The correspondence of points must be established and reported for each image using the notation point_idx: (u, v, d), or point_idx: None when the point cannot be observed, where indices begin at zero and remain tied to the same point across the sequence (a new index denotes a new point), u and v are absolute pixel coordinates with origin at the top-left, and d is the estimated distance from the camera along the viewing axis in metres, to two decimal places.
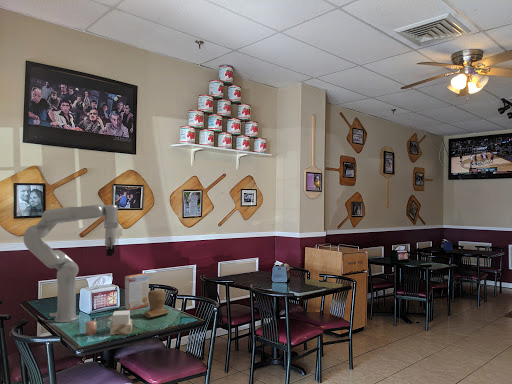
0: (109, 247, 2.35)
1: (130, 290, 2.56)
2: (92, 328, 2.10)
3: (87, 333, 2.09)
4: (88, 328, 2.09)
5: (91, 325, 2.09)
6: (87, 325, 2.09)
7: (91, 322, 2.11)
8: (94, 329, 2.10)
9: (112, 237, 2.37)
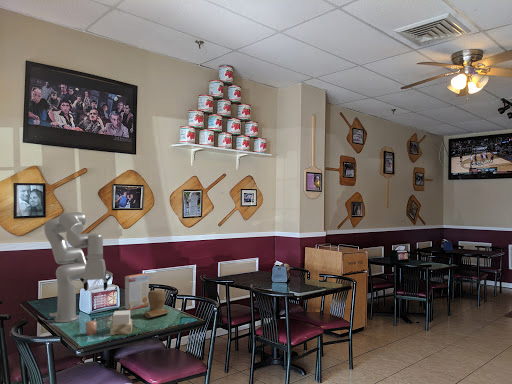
0: None
1: (130, 290, 2.56)
2: (92, 328, 2.10)
3: (87, 333, 2.09)
4: (88, 328, 2.09)
5: (91, 325, 2.09)
6: (87, 325, 2.09)
7: (91, 322, 2.11)
8: (94, 329, 2.10)
9: (105, 269, 2.18)
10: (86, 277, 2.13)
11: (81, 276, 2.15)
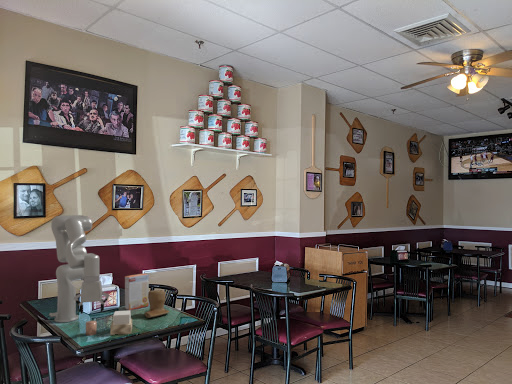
0: (105, 301, 2.13)
1: (130, 290, 2.56)
2: (92, 328, 2.10)
3: (87, 333, 2.09)
4: (88, 328, 2.09)
5: (91, 325, 2.09)
6: (87, 325, 2.09)
7: (91, 322, 2.11)
8: (94, 329, 2.10)
9: None
10: (82, 299, 2.08)
11: (77, 298, 2.09)
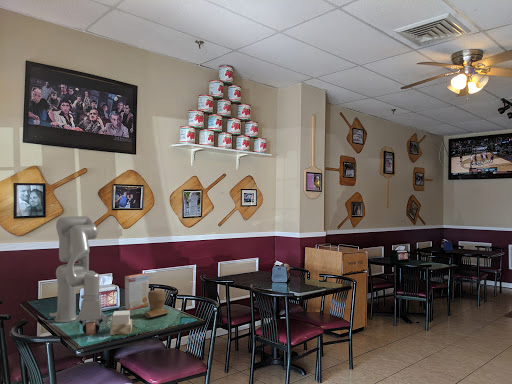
0: None
1: (130, 290, 2.56)
2: (92, 328, 2.10)
3: (87, 333, 2.09)
4: (88, 328, 2.09)
5: (91, 325, 2.09)
6: (87, 325, 2.09)
7: (91, 322, 2.11)
8: (94, 329, 2.10)
9: None
10: (82, 318, 2.08)
11: (79, 319, 2.10)
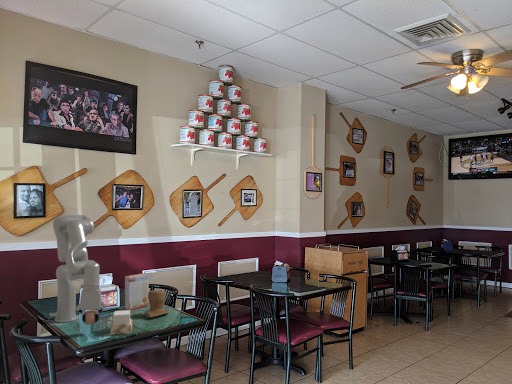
0: (100, 311, 2.13)
1: (130, 290, 2.56)
2: (92, 317, 2.10)
3: (86, 322, 2.10)
4: (88, 317, 2.10)
5: (91, 314, 2.10)
6: (87, 314, 2.10)
7: (91, 311, 2.12)
8: (93, 318, 2.11)
9: None
10: (81, 307, 2.09)
11: (79, 308, 2.10)
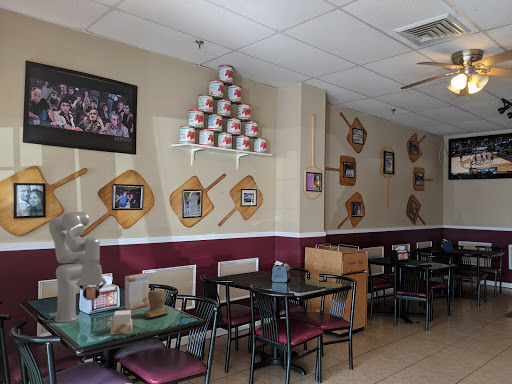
0: (101, 287, 2.13)
1: (130, 290, 2.56)
2: (92, 293, 2.10)
3: (87, 298, 2.10)
4: (88, 293, 2.09)
5: (91, 290, 2.10)
6: (87, 290, 2.10)
7: (91, 287, 2.11)
8: (94, 294, 2.11)
9: None
10: (82, 283, 2.08)
11: (79, 284, 2.10)
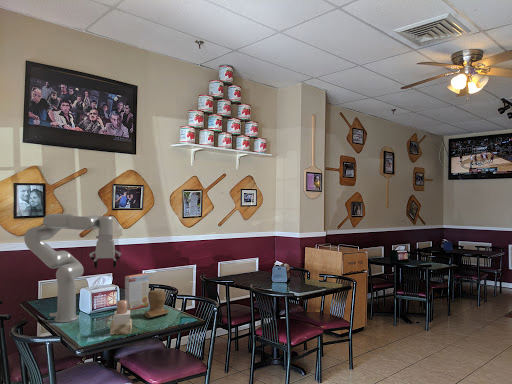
0: None
1: (130, 290, 2.56)
2: (123, 307, 2.14)
3: (118, 312, 2.14)
4: (119, 307, 2.14)
5: (122, 304, 2.14)
6: (118, 304, 2.14)
7: (122, 301, 2.16)
8: (125, 308, 2.15)
9: None
10: (97, 256, 2.30)
11: (92, 255, 2.31)
